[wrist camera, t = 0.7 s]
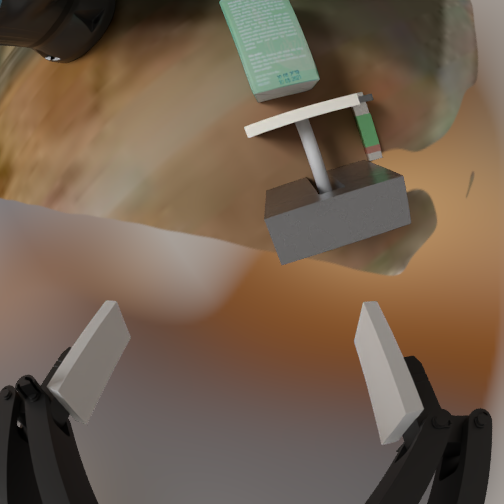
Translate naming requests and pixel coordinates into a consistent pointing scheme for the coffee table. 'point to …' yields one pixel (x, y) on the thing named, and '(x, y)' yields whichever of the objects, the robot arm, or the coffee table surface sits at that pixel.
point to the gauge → (338, 203)
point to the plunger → (309, 131)
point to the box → (271, 47)
